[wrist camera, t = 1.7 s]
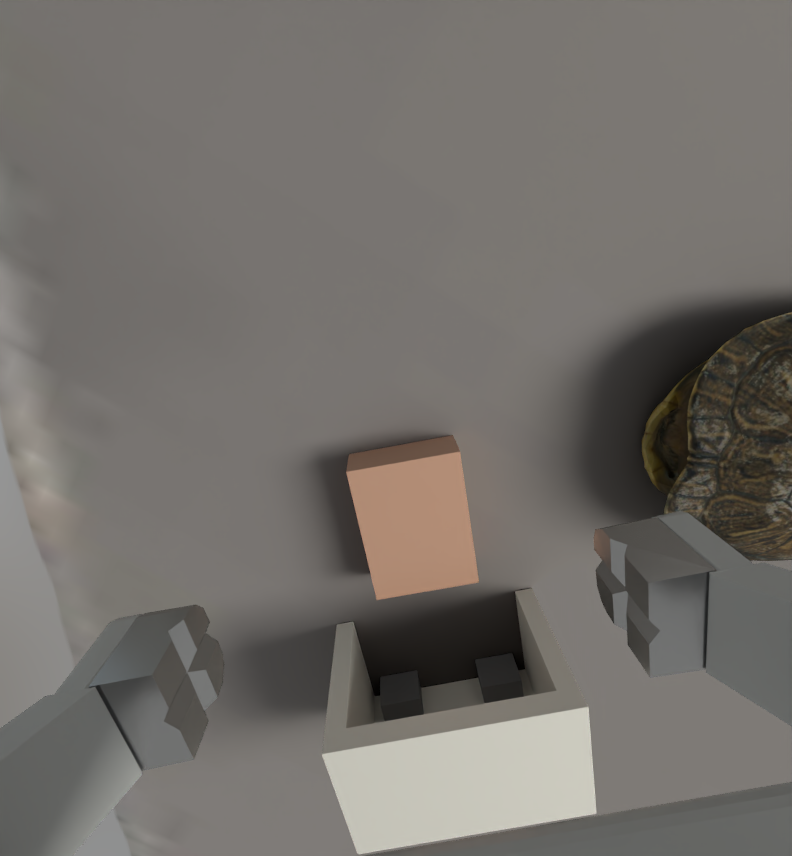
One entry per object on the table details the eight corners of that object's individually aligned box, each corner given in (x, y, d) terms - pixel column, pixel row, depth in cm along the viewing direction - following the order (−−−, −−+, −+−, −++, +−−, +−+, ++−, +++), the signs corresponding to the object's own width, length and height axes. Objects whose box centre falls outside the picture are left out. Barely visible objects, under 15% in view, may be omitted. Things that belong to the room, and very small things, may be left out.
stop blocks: (380, 677, 34) (380, 705, 32) (512, 653, 34) (521, 680, 32) (385, 696, 35) (386, 726, 33) (514, 672, 35) (524, 701, 32)
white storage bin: (336, 624, 33) (321, 754, 24) (531, 588, 32) (588, 706, 24) (362, 710, 35) (357, 854, 27) (542, 678, 35) (596, 813, 26)
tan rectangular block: (349, 451, 29) (346, 472, 26) (451, 433, 29) (459, 451, 26) (377, 570, 32) (376, 599, 29) (470, 553, 32) (479, 582, 29)
